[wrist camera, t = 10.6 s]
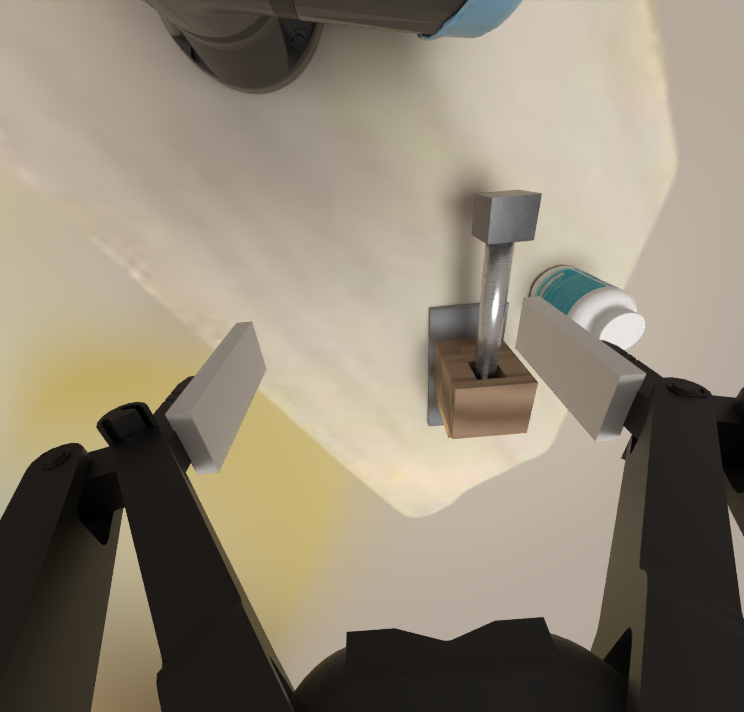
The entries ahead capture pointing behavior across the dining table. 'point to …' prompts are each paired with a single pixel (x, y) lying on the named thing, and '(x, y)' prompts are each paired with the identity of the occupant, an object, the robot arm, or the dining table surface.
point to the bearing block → (474, 379)
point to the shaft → (498, 264)
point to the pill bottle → (592, 304)
